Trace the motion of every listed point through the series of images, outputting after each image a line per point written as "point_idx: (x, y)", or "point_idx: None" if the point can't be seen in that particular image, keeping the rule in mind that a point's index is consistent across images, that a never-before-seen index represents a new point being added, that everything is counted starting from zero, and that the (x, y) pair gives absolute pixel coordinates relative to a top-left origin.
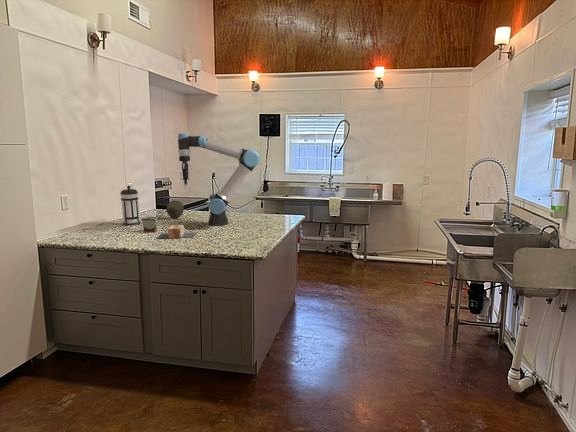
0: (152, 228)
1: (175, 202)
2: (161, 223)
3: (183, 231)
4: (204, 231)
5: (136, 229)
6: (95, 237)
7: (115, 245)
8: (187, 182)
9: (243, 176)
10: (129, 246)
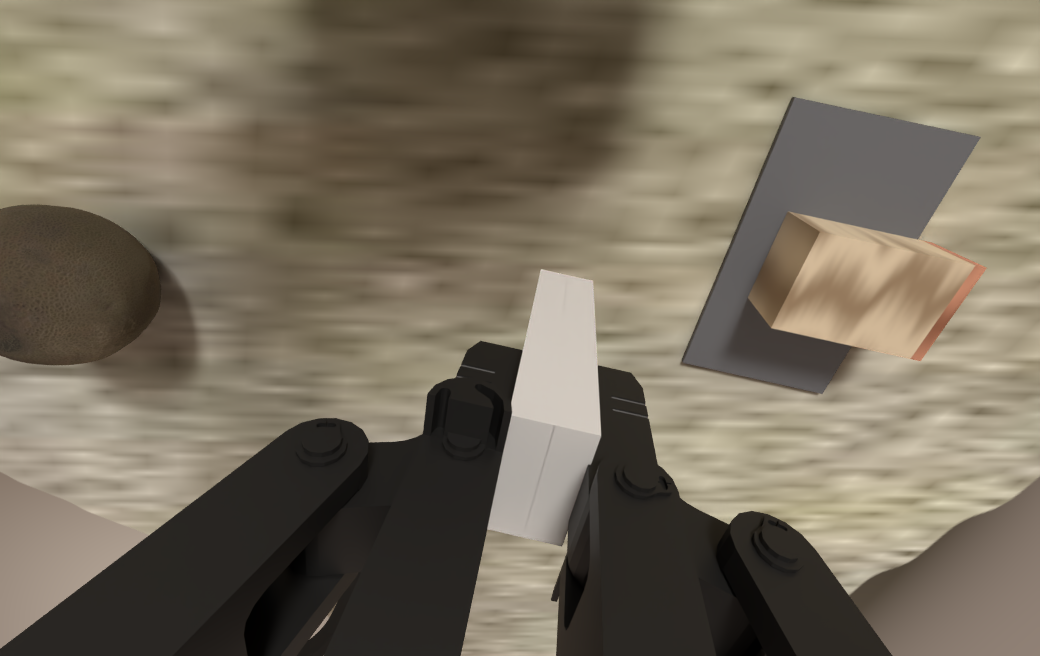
0: None
1: (23, 307)
2: (317, 352)
3: (823, 222)
4: (764, 11)
5: None
6: None
7: (854, 558)
8: (596, 377)
9: None
10: (932, 511)
